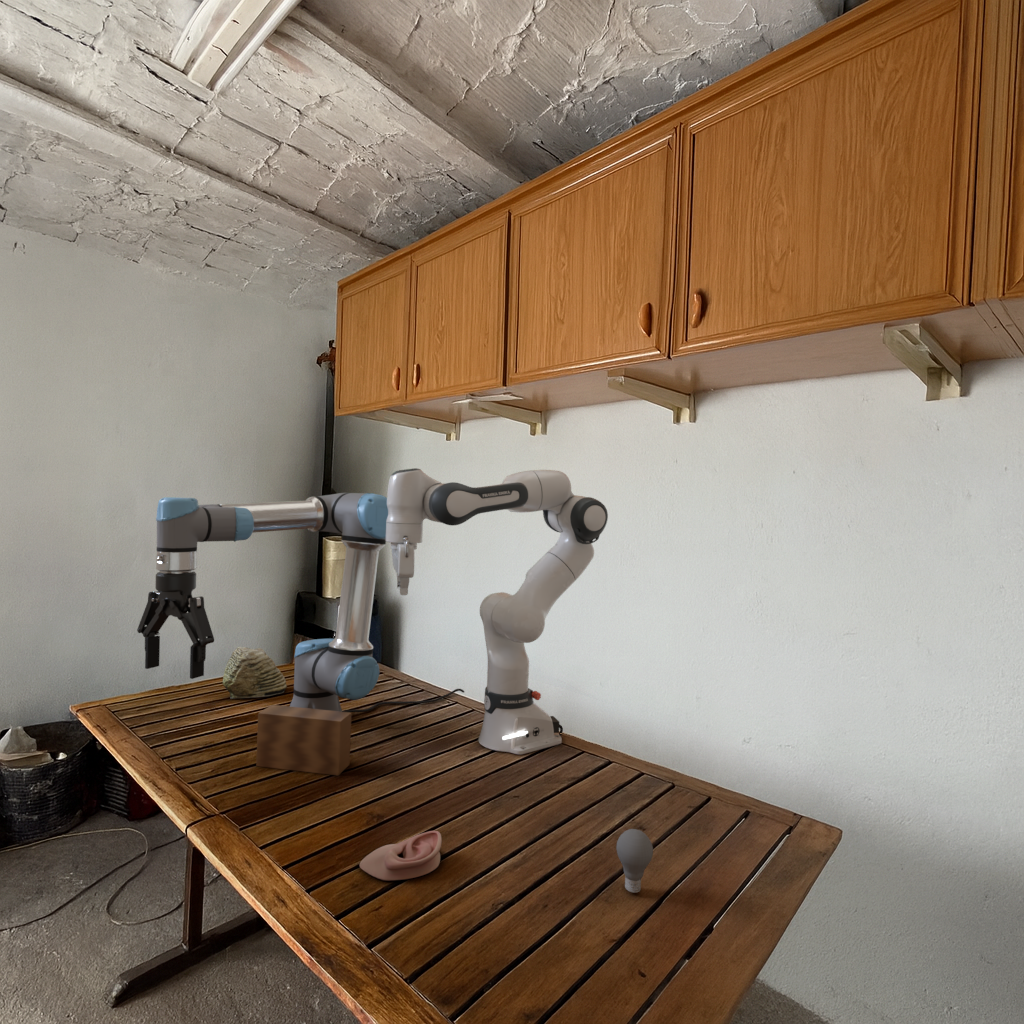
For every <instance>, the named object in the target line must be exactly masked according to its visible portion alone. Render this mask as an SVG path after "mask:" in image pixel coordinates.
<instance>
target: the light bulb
mask: <svg viewBox="0 0 1024 1024" xmlns="http://www.w3.org/2000/svg"><path fill="white" fill-rule="evenodd" d="M615 849H616V854H617V857H618V859H619V861H620V863H621V865H622V867H623V873H624V874H623V875H624V876H625V878H624V888H625V890H627V891H628V892H630V893H634V894H635V893H639V892H640V891H641V889H642V887H641V886H642V879H643V877H644V875H645V871H646V868H647V867H648V866H649V864H650V863H651V861H652V859H653V855H654V847H653V843H652V841H651V838H649V836H648V835H647V834H646V833H645V832H643V831H642V830H641V829H636V828H629V829H627V830H625V831H623V832H622V833H621V834H620V835H619V837H618V839H617V841H616V847H615Z"/></svg>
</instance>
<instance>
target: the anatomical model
mask: <svg viewBox="0 0 1024 1024" xmlns="http://www.w3.org/2000/svg"><path fill="white" fill-rule="evenodd" d="M442 843H443V838H442V834H441V833H440V831H438V830H429V831H426V832H422V833H418V834H416V835H414V836H411V837H410V838H407V839H404V840H403V841H400V842H397V843H390V844H386V845H382V846H380V847H378V848H375V850H373V851H371V852H370V853H369V854H367V855H366V856H364V857H363V859H362V860H361V861H360V863H359V868H360V869H361V870H362V871H363V872H365V873H367V874H368V875H370V876H372V877H374V878H376V879H378V880H381V881H389V882H390V881H401V880H409V879H413V878H418V877H421V876H424V875H427V874H430V873H431V872H433V871H435V870H436V869H437V868H438V867H439V866H440V863H441V862H440V861H441V853H440V851H441V848H442Z"/></svg>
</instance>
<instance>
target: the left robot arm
mask: <svg viewBox="0 0 1024 1024" xmlns="http://www.w3.org/2000/svg"><path fill="white" fill-rule="evenodd" d="M387 517H388V508H387V496H385V495H383V494H377V493H373V492H372V493H371V492H339V493H332V494H325V495H317V496H309V497H307V498H306V499H305V500H287V501H283V500H282V501H264V502H263V501H261V502H238V503H237V502H236V503H218V504H217V503H216V504H214V503H213V504H210V503H209V504H199V500H198V499H197V498H195V497H173V496H171V497H169V496H167V497H166V496H165V497H161V498H160V499H159V500H158V503H157V509H156V518H155V519H156V520H155V521H156V558H155V559H156V561H155V569H156V570H157V572H156V574H155V584H154V585H155V591H149V592H148V595H147V602H146V605H145V608H144V610H143V613H142V616H141V618H140V620H139V624H138V627H137V630H136V631H137V634H142V637H144V652H145V657H144V659H145V660H144V669H146V670H148V669H152V668H158V667H160V653H161V652H160V651H161V649H160V648H161V647H160V646H161V636H160V630H161V629H162V627H163V626H164V624H165V623H166V621H167V620H168V619H169V617H170V616H172V617H174V618H177V619H178V620H179V621H181V623H182V625H183V627H184V629H185V631H186V633H187V635H188V636H189V638H190V640H191V643H192V645H191V646H190V648H189V649H190V651H189V652H190V653H189V679H192V680H194V679H197V678H200V677H204V676H205V661H206V656H207V655H206V654H207V645H208V644H212V643H214V642H215V637H214V633H213V630H212V627H211V624H210V621H209V617H208V615H207V612H206V608H205V599H204V597H203V596H194V597H193V593H192V592H193V591H194V590H195V589H196V588H197V573H196V571H195V570H196V569H197V568H198V543H204V542H234V543H236V542H238V541H239V542H240V541H246V540H248V539H250V538H251V536H252V535H253V533H266V532H280V531H281V532H282V531H293V530H306V529H307V530H308V531H309V532H313V533H315V532H326V533H335V534H339V535H340V534H341V540H340V541H341V543H342V544H343V545H344V547H345V556H344V557H345V558H344V565H343V572H342V573H343V574H342V581H341V590H340V598H339V606H338V614H337V622H336V631H335V637H334V638H317V639H308V640H304V641H300V642H299V643H297V645H296V646H295V650H294V655H293V657H294V672H293V673H294V674H293V695H292V696H293V697H292V699H291V702H290V703H289V706H290V707H300V708H310V709H320V710H330V711H340V712H350V713H351V714H352V713H367V712H369V711H371V710H372V711H373V709H375V708H377V707H379V706H383V705H393V704H394V705H411V704H412V705H413V704H414V705H415V704H417V705H418V704H429V703H435V702H438V701H441V700H442V699H444V698H447V697H450V696H451V695H453V694H454V693H456V692H461V693H465V690H464V689H462V688H456V689H454V690H452V691H450V692H449V693H446V694H444V695H441V696H439V697H437V698H434V699H427V700H411V701H409V700H408V701H407V700H406V701H400V700H399V701H398V700H397V701H395V700H394V701H390V700H389V701H382V702H378V703H375V704H373V705H372V706H370V707H369V708H365V709H346V710H343V709H342V706H341V702H340V699H339V698H341V699H347V700H352V701H357V700H360V699H363V698H364V697H366V696H368V694H370V692H371V691H372V690H374V688H375V687H376V686H377V685H376V684H377V683H378V680H379V678H380V665H379V664H378V662H377V660H376V659H375V658H374V657H373V654H374V645H373V644H372V643H371V642H370V640H369V639H370V638H369V637H370V631H371V630H370V629H371V621H372V613H373V604H374V595H375V587H376V580H377V570H378V562H379V555H380V551H381V550H382V549H383V548H385V547H386V543H387V542H386V520H387Z"/></svg>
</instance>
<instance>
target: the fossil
mask: <svg viewBox="0 0 1024 1024" xmlns="http://www.w3.org/2000/svg"><path fill="white" fill-rule="evenodd" d="M222 676H223V677H222V685H223V687H224V688H225V690H226V691H228V693H229V698H230V699H250V698H264V697H271V696H275V695H281V694H284V693H285V691H286V689H287V687H288V686H287V680H286V678H285V676H284V674H283V673H282V672H281V669H279V668H278V667H277V665H276V663H275V662H274V660H273V659H272V658H271V657H270V656H269V655H268V654H267V653H266V652H265V650H264V649H263V648H260V647H258V648H251V647H247V646H246V647H245V646H238V647H237V648H236V649H235V650H233V651H232V653H231V656H230V657H229V659H228V660H227V663H226V666H225V668H224V671H223V675H222Z"/></svg>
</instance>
